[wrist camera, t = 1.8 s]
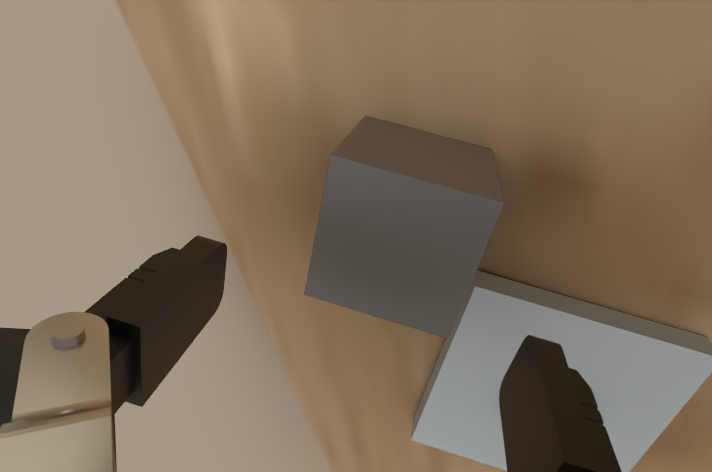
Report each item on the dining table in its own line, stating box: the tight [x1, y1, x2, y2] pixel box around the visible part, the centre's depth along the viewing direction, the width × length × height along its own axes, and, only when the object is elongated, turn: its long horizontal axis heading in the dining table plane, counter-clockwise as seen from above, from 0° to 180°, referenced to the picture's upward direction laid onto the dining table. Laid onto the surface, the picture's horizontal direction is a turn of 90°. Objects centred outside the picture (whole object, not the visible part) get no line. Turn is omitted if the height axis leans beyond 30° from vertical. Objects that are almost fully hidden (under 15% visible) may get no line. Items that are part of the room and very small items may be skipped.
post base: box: [411, 270, 712, 472], centre depth 20 cm, size 11×11×8 cm
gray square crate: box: [304, 116, 504, 339], centre depth 18 cm, size 6×6×6 cm
